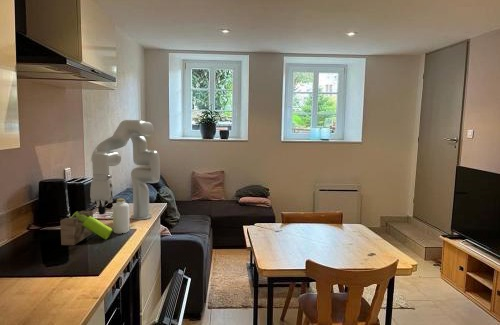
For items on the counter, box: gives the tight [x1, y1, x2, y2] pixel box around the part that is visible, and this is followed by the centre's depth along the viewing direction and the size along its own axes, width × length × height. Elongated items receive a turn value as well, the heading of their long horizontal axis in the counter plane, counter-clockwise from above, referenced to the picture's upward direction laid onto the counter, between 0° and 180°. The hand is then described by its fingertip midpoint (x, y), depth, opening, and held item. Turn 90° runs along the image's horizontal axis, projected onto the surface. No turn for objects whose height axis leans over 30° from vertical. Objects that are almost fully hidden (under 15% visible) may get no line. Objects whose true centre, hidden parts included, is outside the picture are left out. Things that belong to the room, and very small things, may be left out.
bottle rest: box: [59, 210, 94, 246], centre depth 181 cm, size 20×6×12 cm, turn 178°
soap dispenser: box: [70, 210, 113, 240], centre depth 181 cm, size 6×7×20 cm
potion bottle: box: [112, 198, 130, 235], centre depth 193 cm, size 8×8×18 cm
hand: (102, 213), depth 180 cm, fingers closed
